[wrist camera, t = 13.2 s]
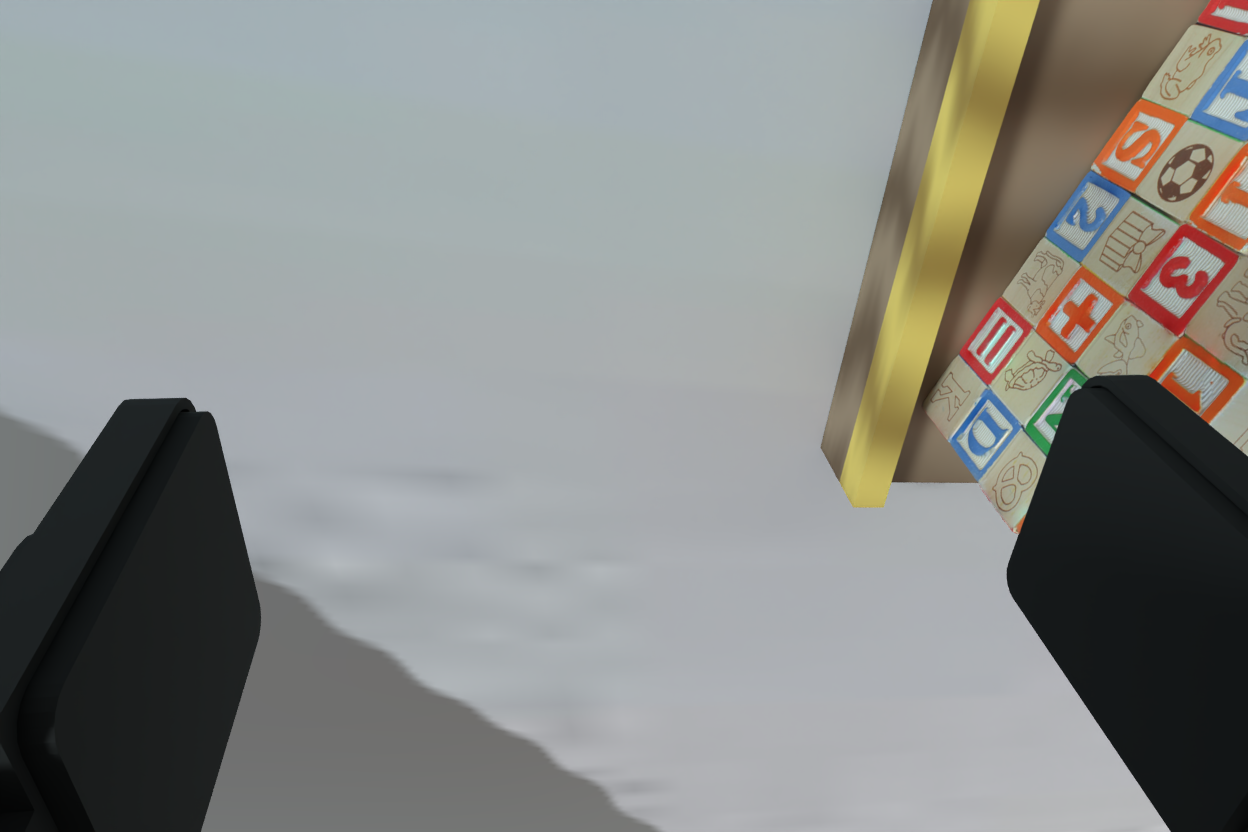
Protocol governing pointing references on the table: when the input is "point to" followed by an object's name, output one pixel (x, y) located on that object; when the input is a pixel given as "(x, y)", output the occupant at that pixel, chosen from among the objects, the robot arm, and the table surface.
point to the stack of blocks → (1124, 277)
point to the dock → (977, 203)
